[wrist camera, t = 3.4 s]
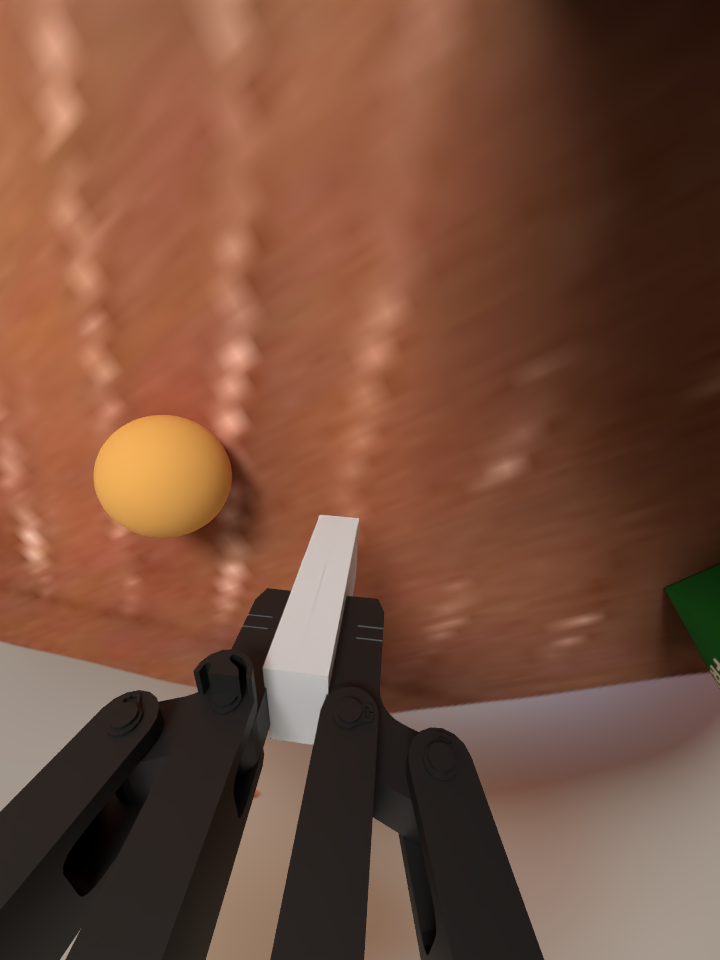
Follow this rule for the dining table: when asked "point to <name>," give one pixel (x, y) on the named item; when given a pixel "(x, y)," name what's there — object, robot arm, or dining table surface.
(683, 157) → the dining table surface
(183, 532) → the ball
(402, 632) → the dining table surface
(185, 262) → the dining table surface
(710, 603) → the milk carton
